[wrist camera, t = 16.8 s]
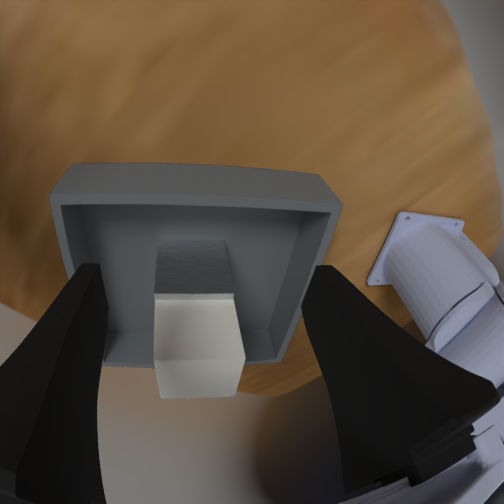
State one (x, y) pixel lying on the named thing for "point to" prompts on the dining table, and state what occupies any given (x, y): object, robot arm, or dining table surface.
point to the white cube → (197, 348)
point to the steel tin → (192, 271)
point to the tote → (196, 228)
